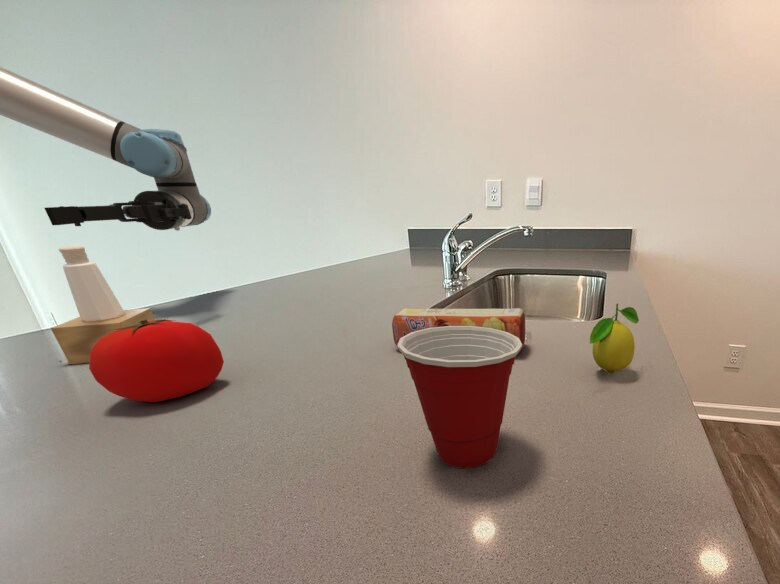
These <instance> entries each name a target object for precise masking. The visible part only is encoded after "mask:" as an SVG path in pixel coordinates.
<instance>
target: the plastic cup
mask: <svg viewBox="0 0 780 584" xmlns="http://www.w3.org/2000/svg"><path fill="white" fill-rule="evenodd" d="M397 346H398V347H397ZM396 347H397V349H398V351H399V352H400V353H401V354H402V356H403V357H404V358H403V359H404V360H405V361H406V365H407V368H408V370H409V374H410V377H411V379H412V381H413V383H414V387H415V390H416V393H417V396H418V399H419V402H420V406H421V409H422V413H423V416H424V419H425V422H426V425H427V428H428V431H429V432H430V434H431V437H432V441H433V443H434V444H433V445H434V446H435V450H436V452H437V454H438V455H439V458H440V460H441V461H442V462H443V463H444V464H446V465H448V466H450V467H451V468H458V469H471V468H477V467H480V466H482V465H486V464H487V463H488V462H489V461H491V460H492V459H493V458H494V456H495V454H496V453H497V449H498V447H499V442H500V441H499V440H500V433H501V426H502V425H503V421H504V414H505V407H506V401H507V396H508V395H507V394H508V388H509V381H510V377H511V375H512V370H513V366H514V364H515V361H516V358H517V356H518V354H519V353H518V352H519V351H520V350H521V348H522V343H521V341H520V339H519V338H518V337H516V336H514V335H512V334H510V333H508V332H504V331H500V330H496V329H492V328H484V327H475V326H444V327H434V328H427V329H423V330H419V331H415V332H411V333H409V334H407V335H405V336H404V337H402V338H400V340H399V343H398V345H396ZM522 349H523V348H522ZM521 351H522V350H521Z"/></svg>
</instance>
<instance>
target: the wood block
mask: <svg viewBox="0 0 780 584" xmlns="http://www.w3.org/2000/svg"><path fill="white" fill-rule="evenodd" d="M123 310H124V312H125V315H122V316H120V317H118V318H114V319H109V320H104V321H94V322H85V321H83V320H81V318H80V316H77V317H75V318H73V319H70V320H68V321H65V322H62V323H60V324H57V325H55V326H52V327H50V330H51V332H52V334H53V335H54V337H55V340H56V341H57V344H58V345H59V347H60V349H61V351H62V352H63V354H64V356H65V359H66V360H67V362H68V363H69V365H79V364H89V362H90V351H91V350H92V348H93V346H94V345H95V343H96V342H97V341H98V340H99V339H100V338H102V337H104V336H106V335H108V334H110V333H112V332H114V331H116V330H113V329H119V328H124V327H129V326H133V325H137V324H139V323H138V322H140V321H141V320H147V321H151V320H156V319H155V316H154V313H153V310H152V309H151V308H150V307H147V308H134V309H123ZM108 330H111V331H108Z"/></svg>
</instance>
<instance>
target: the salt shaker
mask: <svg viewBox="0 0 780 584" xmlns="http://www.w3.org/2000/svg"><path fill="white" fill-rule="evenodd" d="M58 251H59V252H60V253H61V256H62V258H63V259H64V261H65V264H63V265H62V268H63V272H64V275H65V278H66V281H67V285H68V286H69V290H70V291H71V295H72V298H73V301H74V304H75V306H76V310H77V313H78V315H79V317H80V318H81V320H83V321H85V322H94V321H104V320H109V319H114V318H118V317H120V316H122V315H125V312H124V310H125V309H124V308H123V307H122V305H121V304H120V302H119V300H118V298H117V297H116V295H115V293H114V292H113V290H112V289H111V286H110V285H109V283H108V282H107V280H106V278H105V277H104V275H103V273H102V271H101V270H100V268H99V267H98V265H97V264H96V262H93V261H90V259H89V258H88V254H87V253H86V249H85V247H84V246H82V245H70V246H61V247H59V248H58Z"/></svg>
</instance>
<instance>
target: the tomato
mask: <svg viewBox="0 0 780 584" xmlns="http://www.w3.org/2000/svg"><path fill="white" fill-rule="evenodd" d="M138 323H139V324H137V325H133V326H129V327H124V328H119V329H113V330H116V331H114V332H112V333H110V334H108V335H106V336H104V337H102V338H100V339H99V340H98V341H97V342H96V343H95V345H94V346H93V348H92V350H91V351H90V362H89V363H88V364H89V367H88V369H89V372H90V373H91V374H92V377H93V378H94V380H95V381H96V382H97V383H98V384H99V385H100V386H101V387H103V388H104V389H105V390H106V391H108V392H109V393H110V394H114V395H116V396H118V397H121V398H124V399H127V400H130V401H134V402H145V403H146V402H147V403H156V402H157V403H158V402H163V401H168V400H173V399H178V398H182V397H184V396H187V395H189V394H192V393H195V392H197V391H200V390H202V389H205V388H207V387H209V386H210V385H211V384H212V383H213V382H214V381H215V380H216V379H217V378H218V377H219V375H220V373H221V372H222V369H223V366H224V363H225V362H224V358H223V355H222V354H223V353H222V351H221V348H220V347H219V346H218V344H217V342H216V341H215V339H214V338H213V336H212V334H211V333H210V332H208V331H206V330H205V329H203V328H202V327H200V326H198V325H196V324H194V323H192V322H184V321H183V322H182V321H176V319H174V320H171V319H169V317H167V319H166V318H164V319H163V318H162V319H160V318H159V319H155V320H151V321H147V320H141V321H140V322H138ZM108 331H111V330H108Z"/></svg>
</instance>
